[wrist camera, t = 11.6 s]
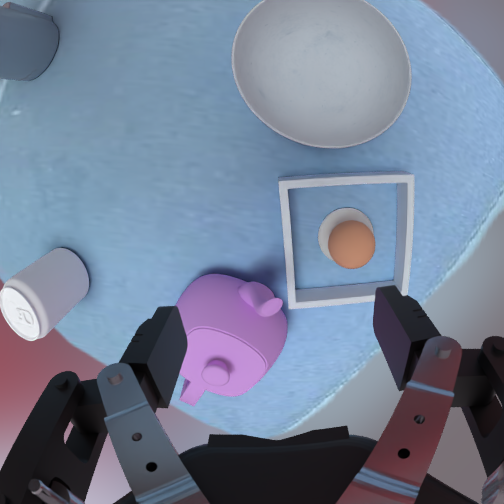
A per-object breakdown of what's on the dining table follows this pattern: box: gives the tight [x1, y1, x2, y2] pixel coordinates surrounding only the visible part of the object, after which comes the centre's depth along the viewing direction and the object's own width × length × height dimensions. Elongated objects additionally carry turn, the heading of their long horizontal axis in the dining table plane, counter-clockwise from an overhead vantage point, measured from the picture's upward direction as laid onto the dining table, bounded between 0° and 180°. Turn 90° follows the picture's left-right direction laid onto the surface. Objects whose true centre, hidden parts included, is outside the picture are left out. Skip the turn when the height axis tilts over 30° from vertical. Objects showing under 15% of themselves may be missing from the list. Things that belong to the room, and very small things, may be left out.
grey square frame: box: [278, 171, 414, 309], centre depth 32 cm, size 14×14×3 cm
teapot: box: [175, 274, 287, 406], centre depth 33 cm, size 13×20×11 cm
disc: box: [318, 208, 374, 261], centre depth 33 cm, size 6×6×1 cm
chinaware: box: [232, 0, 411, 148], centre depth 24 cm, size 15×15×8 cm
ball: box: [328, 220, 375, 269], centre depth 30 cm, size 5×5×5 cm
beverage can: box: [0, 248, 89, 341], centre depth 32 cm, size 8×8×12 cm
